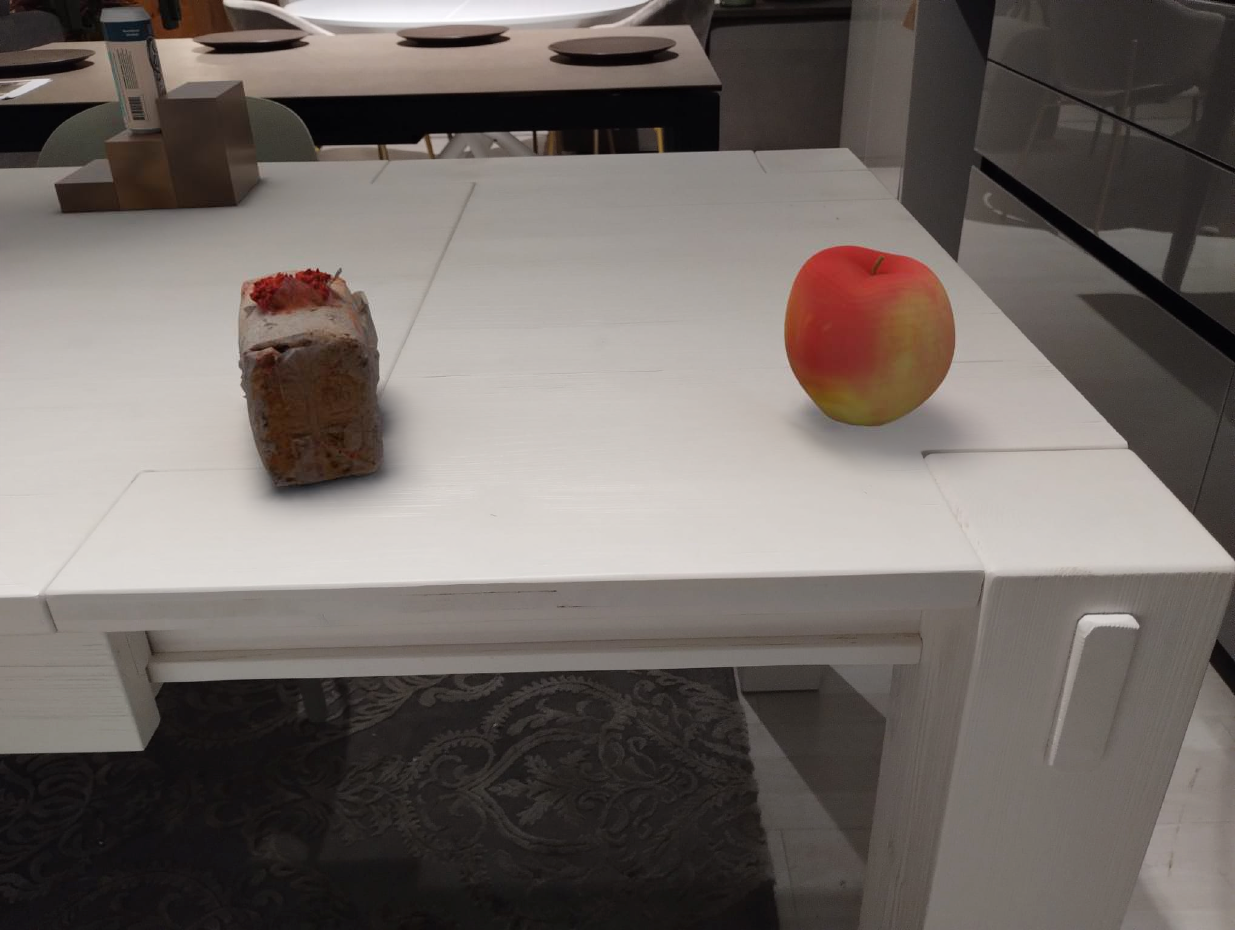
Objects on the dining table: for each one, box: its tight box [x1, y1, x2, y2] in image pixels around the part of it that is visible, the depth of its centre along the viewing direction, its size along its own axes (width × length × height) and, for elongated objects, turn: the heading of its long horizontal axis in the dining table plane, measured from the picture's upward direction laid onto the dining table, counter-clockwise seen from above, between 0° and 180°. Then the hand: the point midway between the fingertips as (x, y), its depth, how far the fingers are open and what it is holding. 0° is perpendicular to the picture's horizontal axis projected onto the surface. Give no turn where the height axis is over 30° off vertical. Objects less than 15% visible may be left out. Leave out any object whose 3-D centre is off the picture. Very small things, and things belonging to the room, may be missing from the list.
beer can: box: [99, 6, 168, 133], centre depth 106 cm, size 5×5×12 cm
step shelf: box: [53, 79, 261, 213], centre depth 110 cm, size 18×12×11 cm, turn 95°
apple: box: [783, 244, 956, 428], centre depth 59 cm, size 10×10×10 cm
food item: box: [237, 267, 384, 487], centre depth 58 cm, size 14×8×10 cm, turn 20°
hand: (123, 29), depth 104 cm, fingers open, 9 cm apart
